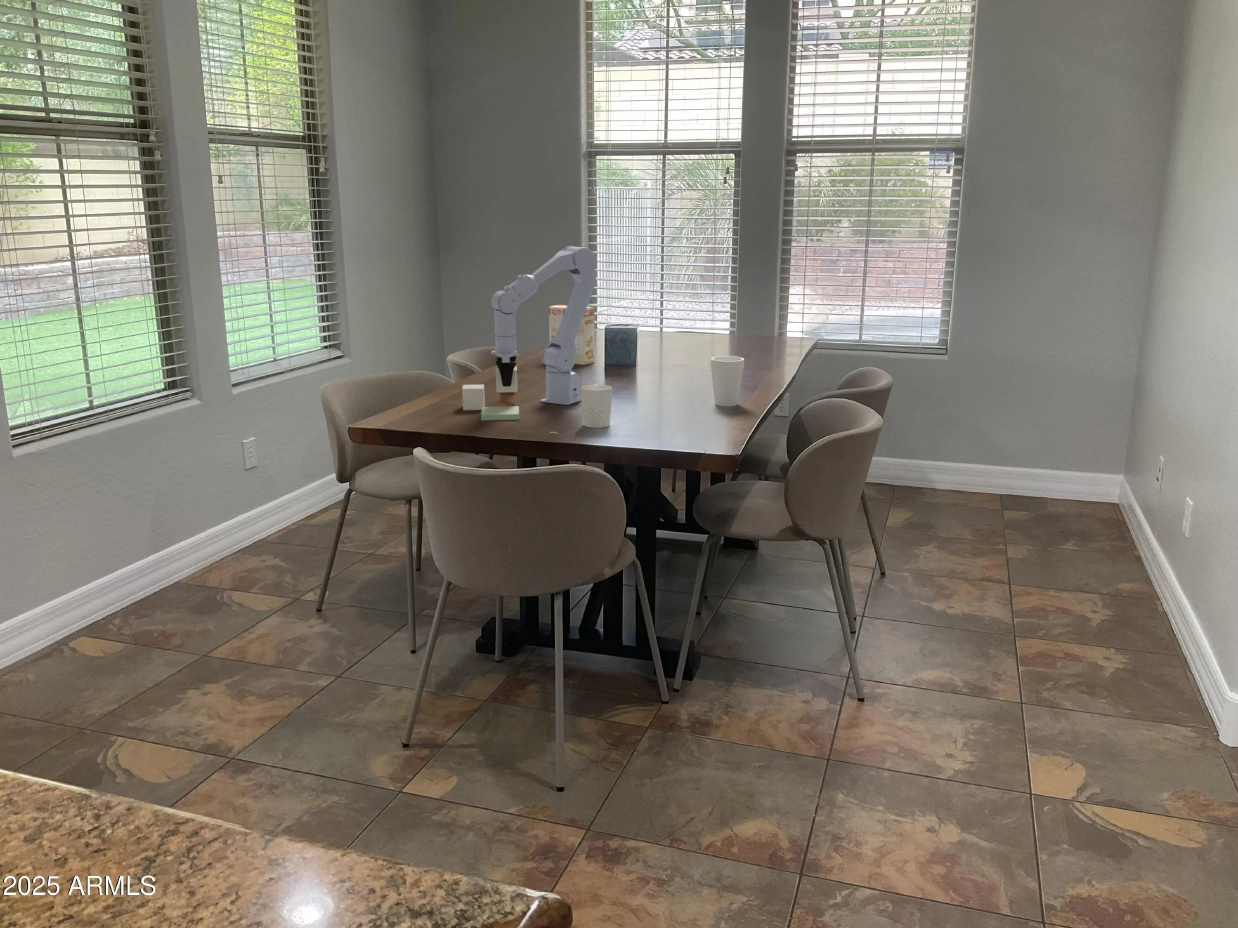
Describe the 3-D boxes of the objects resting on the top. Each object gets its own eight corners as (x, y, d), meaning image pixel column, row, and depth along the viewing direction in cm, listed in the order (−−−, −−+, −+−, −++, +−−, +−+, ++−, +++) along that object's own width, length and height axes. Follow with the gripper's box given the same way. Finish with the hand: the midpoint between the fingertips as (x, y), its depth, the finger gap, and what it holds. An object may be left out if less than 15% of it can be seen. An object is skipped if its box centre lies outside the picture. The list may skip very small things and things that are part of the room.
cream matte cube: (517, 387, 282) (516, 366, 280) (517, 391, 276) (517, 370, 275) (496, 388, 282) (496, 367, 280) (496, 392, 276) (495, 370, 274)
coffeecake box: (595, 362, 351) (595, 306, 346) (584, 365, 346) (583, 308, 340) (560, 358, 359) (559, 304, 354) (549, 361, 353) (548, 306, 348)
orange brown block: (514, 405, 282) (514, 392, 281) (514, 408, 279) (514, 394, 278) (500, 406, 282) (500, 392, 281) (500, 409, 278) (499, 395, 277)
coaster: (518, 411, 275) (518, 406, 274) (519, 419, 265) (518, 414, 265) (482, 412, 274) (482, 406, 273) (481, 420, 264) (480, 414, 264)
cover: (484, 405, 282) (484, 384, 281) (484, 409, 277) (483, 388, 275) (464, 405, 282) (463, 384, 280) (463, 410, 276) (462, 388, 275)
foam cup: (716, 408, 279) (717, 362, 276) (704, 401, 288) (705, 356, 284) (747, 406, 282) (749, 360, 278) (735, 399, 290) (737, 355, 287)
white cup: (595, 420, 265) (594, 383, 262) (618, 424, 260) (618, 386, 257) (575, 425, 259) (574, 387, 256) (598, 430, 254) (598, 391, 251)
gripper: (491, 331, 281) (493, 379, 285) (490, 339, 268) (492, 389, 271) (516, 331, 282) (518, 378, 286) (516, 339, 268) (518, 388, 272)
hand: (507, 384), depth 279 cm, fingers closed on cream matte cube, 6 cm apart
